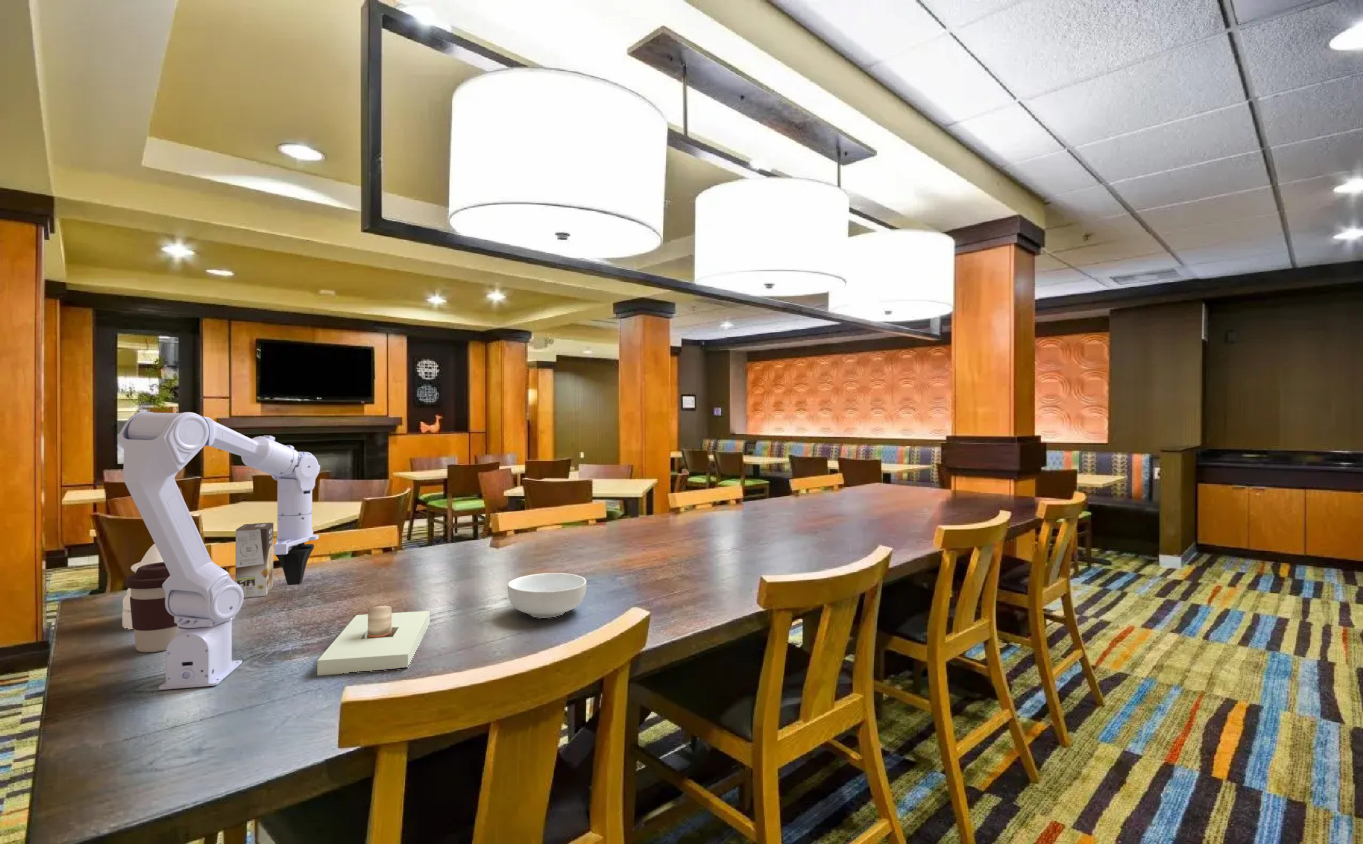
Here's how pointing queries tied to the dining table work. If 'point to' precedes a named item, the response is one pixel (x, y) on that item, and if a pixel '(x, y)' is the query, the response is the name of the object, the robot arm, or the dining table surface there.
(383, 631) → the peg
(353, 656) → the board
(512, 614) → the dining table surface
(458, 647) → the dining table surface
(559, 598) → the cereal bowl
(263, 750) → the dining table surface
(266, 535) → the coffee box
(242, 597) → the robot arm
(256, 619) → the dining table surface
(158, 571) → the coffee cup
